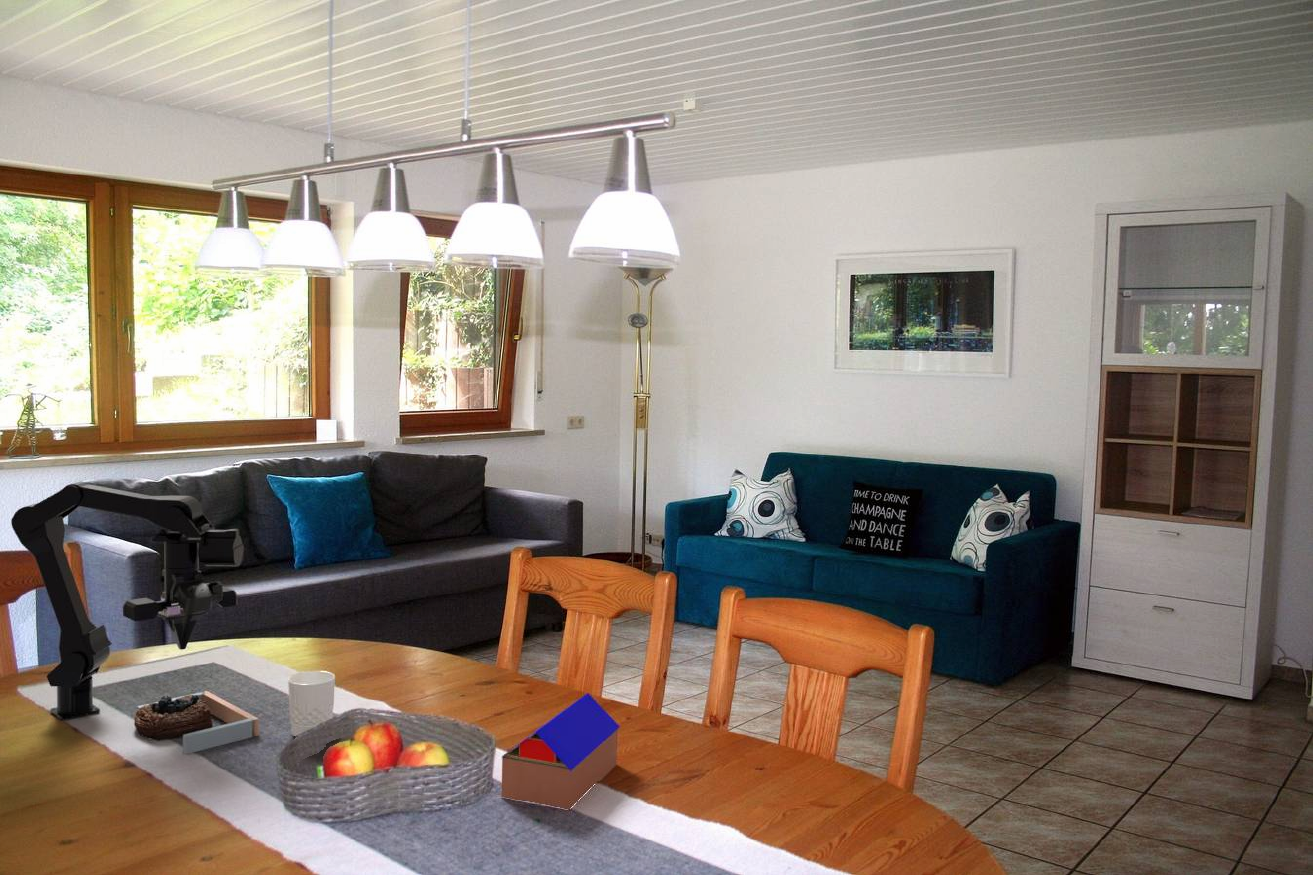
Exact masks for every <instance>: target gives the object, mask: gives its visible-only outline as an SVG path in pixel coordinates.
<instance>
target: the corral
mask: <svg viewBox="0 0 1313 875" xmlns="http://www.w3.org/2000/svg"><path fill="white" fill-rule="evenodd" d="M188 695H189V694H188ZM188 695H187V694H186V695H183V696H178V697H174V698H171V699H172V701H174V700H175V699H179V698H181V697H184V696H188ZM190 695H198V697H199V698H200V699H201V701H202V702H203V700H205V701H207V702H206V703H207V706H208V707H209V708H210V710H211V712H212V714H211V716H214V717H216V718H218V719H219V720H221V721H223V722H225V724H220V725H217V726H213V727H212V728H209V729H205V730H201V731H197V732H193V733H189V734H184V735H183V736H182V753H183V752H184V754H185V755H189V754H192V753H196V752H201V751H205V750H208V749H211V748H216V747H219V746H223V745H227V744H230V743H231V744H232V743H235V742H238V741H242V740H246V739H250V738H254V737H258V736H260V735H259V734H260V733H259V732H260V728H259V727H260V726H259V725H260V722H259V721H260V720H259V718H258V717H256V716H254V715H253V714H251V713H249V712H247V711H245V710H243V709H241V708H239V707H238V706H236V705H234V704H232V703H230V702H228V701H227V700H224V699H223V698H221V697H219V696H218V695H215V694H214V693H211V692H209V691H207V690H205V691H200V692H196V693H192V694H190ZM158 702H159V701H156V702H153V703H158ZM149 704H150V703H147V704H142V705H138V706H136V712H137V711H138V710H140V709H141V707H143V706H145V705H149Z"/></svg>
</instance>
